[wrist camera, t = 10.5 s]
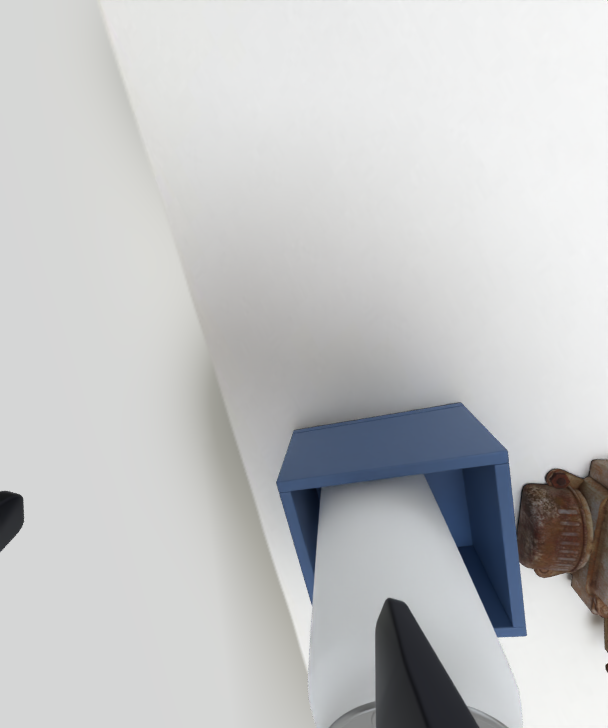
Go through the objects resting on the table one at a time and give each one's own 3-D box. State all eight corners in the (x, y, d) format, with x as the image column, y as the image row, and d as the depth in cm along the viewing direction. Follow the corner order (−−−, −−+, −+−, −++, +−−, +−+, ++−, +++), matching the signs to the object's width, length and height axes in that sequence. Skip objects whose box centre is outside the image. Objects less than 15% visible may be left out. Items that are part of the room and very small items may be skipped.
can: (412, 430, 19) (539, 679, 7) (435, 520, 20) (571, 850, 8) (308, 454, 20) (269, 703, 8) (336, 537, 21) (337, 850, 10)
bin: (293, 430, 20) (275, 482, 15) (461, 401, 18) (508, 450, 13) (328, 559, 22) (322, 645, 17) (480, 545, 21) (527, 637, 15)
